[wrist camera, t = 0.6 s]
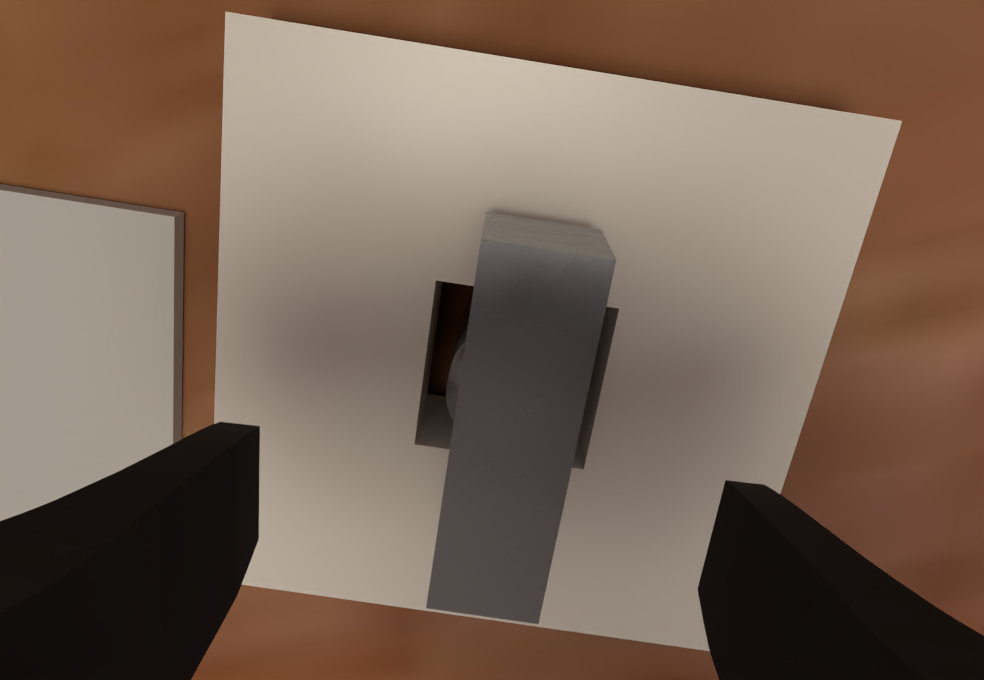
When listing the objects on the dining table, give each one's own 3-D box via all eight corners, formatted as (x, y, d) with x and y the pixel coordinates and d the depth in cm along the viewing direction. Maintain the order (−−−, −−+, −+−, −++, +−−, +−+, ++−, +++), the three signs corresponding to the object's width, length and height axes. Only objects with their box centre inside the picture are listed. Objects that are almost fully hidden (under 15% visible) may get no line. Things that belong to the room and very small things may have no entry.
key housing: (702, 582, 23) (728, 654, 21) (247, 516, 23) (209, 579, 20) (843, 111, 19) (902, 121, 16) (270, 18, 18) (225, 11, 15)
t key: (542, 470, 22) (552, 626, 16) (440, 455, 22) (411, 606, 16) (596, 198, 20) (633, 262, 13) (479, 180, 19) (463, 236, 13)
